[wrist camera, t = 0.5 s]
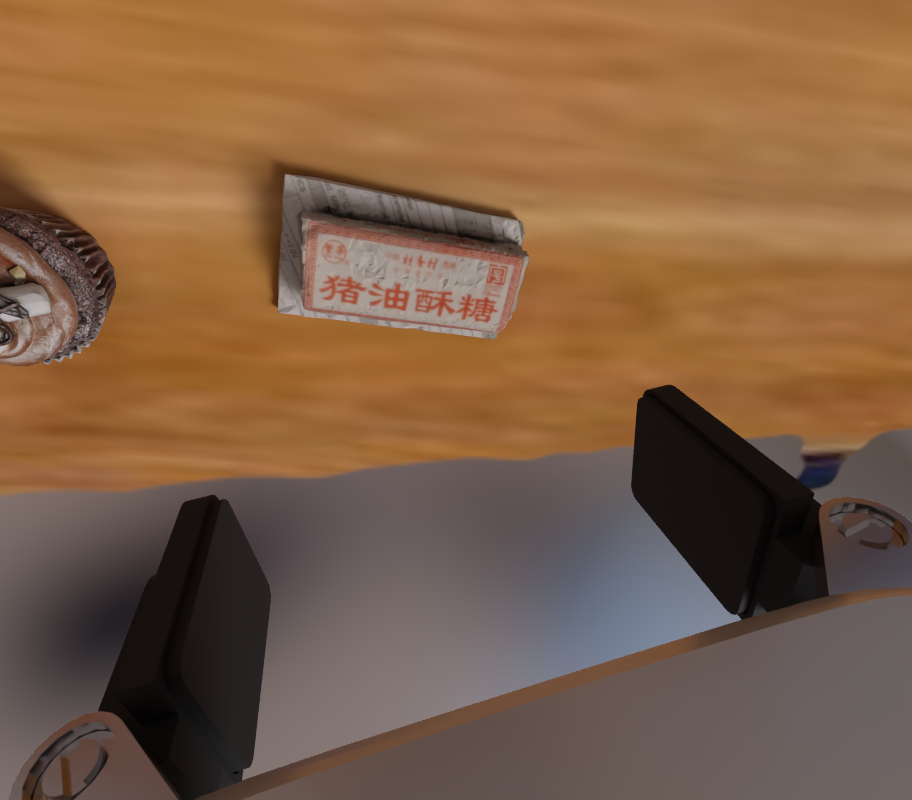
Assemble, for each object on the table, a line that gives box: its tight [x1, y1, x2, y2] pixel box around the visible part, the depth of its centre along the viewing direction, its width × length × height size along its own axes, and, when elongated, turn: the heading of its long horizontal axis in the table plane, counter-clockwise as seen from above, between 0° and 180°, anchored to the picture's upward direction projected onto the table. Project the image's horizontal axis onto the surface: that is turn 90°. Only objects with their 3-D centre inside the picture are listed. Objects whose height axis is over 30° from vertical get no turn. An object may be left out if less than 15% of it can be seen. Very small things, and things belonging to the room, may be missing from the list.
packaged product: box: [278, 174, 529, 339], centre depth 37 cm, size 18×5×10 cm
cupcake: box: [0, 207, 116, 366], centre depth 29 cm, size 10×10×10 cm
